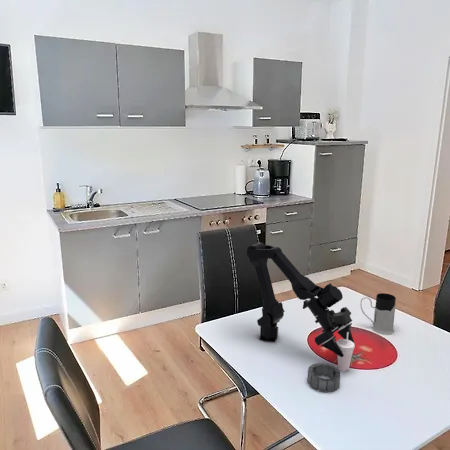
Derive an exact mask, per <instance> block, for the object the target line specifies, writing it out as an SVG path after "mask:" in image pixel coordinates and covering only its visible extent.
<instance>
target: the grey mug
mask: <svg viewBox="0 0 450 450" xmlns="http://www.w3.org/2000/svg"><path fill="white" fill-rule="evenodd" d="M364 299H368V300H369V301H370V308H372V309H374V314H373V320H372V319H371V318H370V317H369V316H368V314H366V313H365V311H364V310H363V307H362V305H360V310H361V312H362V314H363V315H364V316H365V317H366V318H367V319H369V321H370V322H372V323H371V324H372V327H371V329H372V331H373V332H375V333H377V334H380V335H384V336H385V335H386V336H387V335H388V336H389V335H393V334H394V332H395V330H394V325H395V324H394V323H395V315H396V314H395V312H396V304H397V303H396V300H397V298H396V297H395V295H393V294H390V293H377V294H376V299H375V306H373V305H372V304H373V303H372V300H371V298H370V297H367V296H365V297H364V296H363V297H362V298H361V300H360V303H362V302H363V300H364Z"/></svg>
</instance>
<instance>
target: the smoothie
mask: <svg viewBox="0 0 450 450" xmlns="http://www.w3.org/2000/svg"><path fill="white" fill-rule="evenodd" d="M348 334H349V332H347V339H344V338H339V339H337V340H336V343H337V344H338V346H339V348H340V349H341V351H342V353H343V355H344V356H343V357H340V356H339V355H337V354H336V356H337V358H336V359H337V369H338V370H339V371H343V372H347V371H349V370H350V366H351V361H352V357H353V353H354V349H355V346H356V344H354V343H355V342H354V343H353V342H352V341H350V340H348Z"/></svg>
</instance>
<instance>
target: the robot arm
mask: <svg viewBox="0 0 450 450" xmlns="http://www.w3.org/2000/svg"><path fill="white" fill-rule="evenodd" d="M246 257H247V259H248V261H249V262H250V264H251V265H252V266H253V267H254V270H255V274H256V278H257V281H258V282H257V283H258V285H259V289H260V293H261V297H262V302H263V303H262V307H261V315H262V316H261V317H259V318H258V319H256V320H257V321H256V322H257V325H258V326H259V327H260V328H259V329H260V330H259V331H260V332H259V333H260V336H259V337H258V340H260V341H265V342H271V343H275V342H276V341H277V339H278V337H279V326H278V323H279V322H281V320H282V319H283V317H284V315H285V313H284V312H285V309H284V305H283V303H282V301H281V302H279V301H278V299H276V296H275V291H274V287H273V283H272V279H271V276H270V273H269V268H268V259H269V260H270V259H271V260H272V262H273V263H274V264H275V265H276V267H277V268H278V269H279V270H280V271H281V272H282V274H283V275H284V276H285V277H286V278H287V281H289V283H290V284H291V288H292V290H293V292H294V294H295V296H296V297H297V299H299V300H300V301H301V300H302V301H303V305H302V309H303V310H305V309H306V308H308V310H309V311H310V312H311V313H312V315H313V316H314V318H315V319H316V320H314V322H315V324H319V325H320V326H321V328H322V330H321V332H320V334H318V335H317V336H315V337H314V342H315V344H316V346H317V347H318V346H320V347H321V348H325V349H327V350H329V351H330V352H332V353H334V354H335V355H336V356H337V355H339V356H340V357H343V356H344V355H343V353H342V351H341V349H340V348H339V346H338V344H337V343H336V341H337V340H336V339H337V336H336V335H335V334H334V333H335V332H337V334H338V335H339V336H340V337H341V338H342V339H347V332H349V334H348V340H350V341H352V342H353V343H354V344H355V340H354V337H353V335H352V331H351V327H352V324H353V323H352V322H353V319H352V318H351V315H352V312H351V311H350V309H349V308H348V307H347V306H344V307H343V306H342V308H340V311H338V312H335V311H334V310H333V309H331V310H330V309H329V308H331V307H333V306H334V305H336V304H337V303H339V302H340V301H342V300H343V294H342V291H341V290H340V288H338V287H337V286H335V285H333V284H332V283H328V284H326V285H325V286H324V287H322V286H319V285H317V284H316V283H315V282H313V281H312V280H311V279H310V278H309V277H307V276H305V275H303V274H302V273H300V270H298V269H297V268H296V267H295V265H294V264H293V263H292V262H291V261H290V259H289V258H288V257H287V256H286V255H285V254H284V252H283V250H282V249H281V248H280V247H279V246H273V245H271V244H270V245H269V244H264V243H263V242H257V243H254V244H251V245H250V246H248V247H247V249H246ZM355 345H356V344H355Z"/></svg>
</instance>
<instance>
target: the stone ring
mask: <svg viewBox="0 0 450 450" xmlns="http://www.w3.org/2000/svg"><path fill="white" fill-rule="evenodd" d="M307 369H308V370H307V378H306V379H307V384H308V385H309V387H310V388H312V389H314V390H316V391H318V392H320V393H321V392H322V393H331V392H335V391H337V390H339V389H340V384H341V370H340V369H339V368H338V367H336V366H334V365H332V364H330V363H325V362H318V363H317V362H316V363H313V364H311V365H309V367H308V368H307ZM322 376H323V377H322ZM324 377H327V378H324Z"/></svg>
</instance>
